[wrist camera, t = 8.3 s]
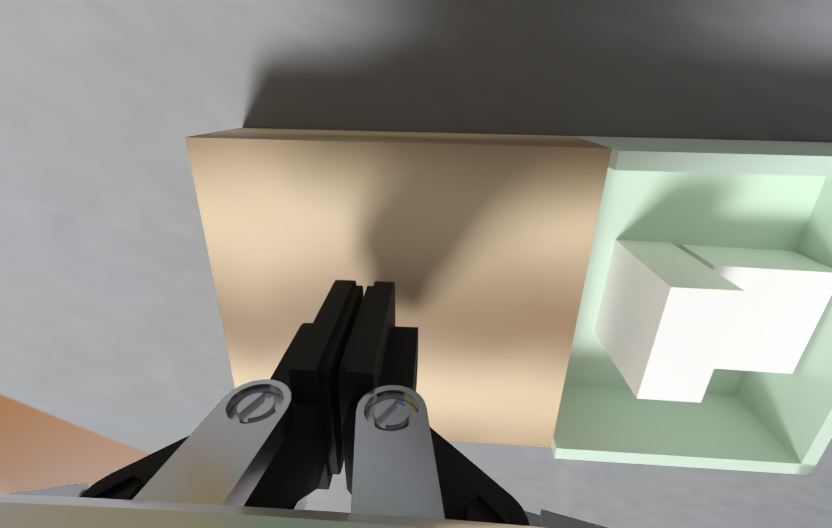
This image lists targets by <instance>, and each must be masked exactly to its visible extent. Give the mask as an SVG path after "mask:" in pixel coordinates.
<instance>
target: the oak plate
mask: <svg viewBox="0 0 832 528" xmlns="http://www.w3.org/2000/svg"><path fill="white" fill-rule="evenodd" d="M185 138H186V143H187V148H188V153H189V158H190V163H191V168H192V173H193V178H194V184H195V189H196V194H197V199H198V204H199V209H200V214H201V219H202V224H203V229H204V234H205V239H206V244H207V249H208V254H209V259H210V264H211V269H212V274H213V279H214V284H215V289H216V294H217V299H218V304H219V309H220V314H221V319H222V324H223V329H224V334H225V339H226V344H227V349H228V354H229V359H230V364H231V369H232V374H233V379H234V384H235V388H237V387H239V386H241V385H243V384H245V383H248V382H251V381H256V380H262V379H269V380H270V378H271V376H272V375H273V373H274V371H275V369H276V368H277V366H278V364H279V362H280V361H281V359H282V357H283V355H284V354H285V352H286V350H287V348H288V347H289V345H290V343H291V341H292V340H293V338H294V336H295V334H296V333H297V331H298V329H299V327H300V326H301V325H302V323H313V322H314V320H315V318H316V316H317V314H318V312H319V310H320V308H321V306H322V304H323V302H324V301H325V299H326V297H327V295H328V293H329V291H330V289H331V287H332V285H333V283H334V282H335V280H355V281H356V284H357V285H359V286H363V295H364V294H365V291H366V289H367V286H374V283H375V281H384V282H395V326H398V327H418V369H417V386H416V392H417V393H418V394H419V395H420V396H421V397H422V398H423V399H424V402H425V404H426V407H427V413H428V419H429V425H430V427H431V428H432V429H433V430H434V431H436V432H437V433H438V434H439V435H440V436H441V437H443V438H444V439H445V440H446V441H461V442H476V443H492V444H508V445H523V446H539V447H551V445H552V441H553V436H554V431H555V426H556V421H557V416H558V411H559V406H560V401H561V396H562V391H563V386H564V381H565V376H566V372H567V367H568V362H569V357H570V352H571V347H572V342H573V337H574V332H575V327H576V322H577V317H578V312H579V308H580V303H581V298H582V293H583V288H584V283H585V278H586V273H587V268H588V263H589V258H590V253H591V248H592V243H593V239H594V234H595V229H596V224H597V219H598V214H599V209H600V204H601V199H602V194H603V189H604V184H605V179H606V174H607V170H608V165H609V160H610V155H611V150H612V148H609V147H606V146H603V145H600V144H597V143H594V142H591V141H588V140H584V139H581V138H578V137H575V136H556V135H515V134H474V133H433V132H392V131H351V130H310V129H269V128H238V129H232V130H226V131H220V132H214V133H208V134H202V135H196V136H190V137H185Z"/></svg>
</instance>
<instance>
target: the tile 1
mask: <svg viewBox="0 0 832 528" xmlns="http://www.w3.org/2000/svg"><path fill="white" fill-rule="evenodd" d="M743 293H744V290H743V289H741V288H739V287H738V286H736V285H735V284H733V283H732V282H730V281H729V280H727V279H726V278H724V277H723V276H721V275H720V274H718V273H717V272H715V271H714V270H712V269H710V268H709V267H707V266H706V265H704V264H703V263H701V262H700V261H698V260H697V259H695V258H694V257H692V256H691V255H689V254H688V253H686V252H685V251H683V250H682V249H680V248H678V247H677V246H675V245H674V244H672V243H671V242H656V241H633V240H615V243H614V247H613V252H612V256H611V260H610V264H609V269H608V273H607V277H606V282H605V286H604V290H603V294H602V299H601V303H600V307H599V312H598V316H597V320H596V324H595V329H594V332H595V333H596V335H597V337H598V338H599V340H600V341H601V343H602V345H603V346H604V348H605V349H606V351H607V352H608V354H609V356H610V357H611V359H612V360H613V362H614V363H615V365H616V367H617V368H618V370H619V371H620V373H621V375H622V376H623V378H624V379H625V381H626V382H627V384H628V386H629V387H630V389H631V390H632V392H633V394H634V395H635V397H636V398H637V399H650V400H666V401H682V402H698V403H701V401H702V399H703V396H704V394H705V391H706V388H707V386H708V383H709V381H710V378H711V376H712V373H713V370H714V368H715V365H716V363H717V360H718V358H719V355H720V352H721V350H722V347H723V345H724V342H725V340H726V337H727V334H728V332H729V329H730V327H731V324H732V322H733V319H734V316H735V314H736V311H737V309H738V306H739V304H740V301H741V298H742V296H743Z"/></svg>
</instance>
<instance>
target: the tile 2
mask: <svg viewBox="0 0 832 528" xmlns="http://www.w3.org/2000/svg"><path fill="white" fill-rule="evenodd" d="M680 249H682V250H683V251H685V252H686V253H688V254H689V255H691V256H692V257H694V258H695V259H697V260H698V261H700V262H701V263H703V264H704V265H706V266H707V267H709V268H710V269H712V270H714V271H715V272H717V273H718V274H720V275H721V276H723V277H724V278H726V279H727V280H729V281H730V282H732V283H733V284H735V285H736V286H738V287H739V288H741V289H743V290H744V293H743V296H742V298H741V301H740V304H739V306H738V309H737V311H736V314H735V316H734V319H733V322H732V324H731V327H730V329H729V332H728V334H727V337H726V340H725V342H724V345H723V347H722V350H721V352H720V355H719V358H718V360H717V363H716V365H715V368H714V369H727V370H742V371H756V372H771V373H785V374H792V373H793V371H794V369H795V367H796V365H797V363H798V361H799V359H800V357H801V355H802V353H803V351H804V349H805V347H806V345H807V343H808V341H809V339H810V337H811V335H812V333H813V331H814V329H815V327H816V325H817V323H818V321H819V319H820V318H821V316H822V314H823V312H824V310H825V308H826V306H827V304H828V302H829V300H830V298H831V296H832V268H830V267H828V266H826V265H824V264H821V263H819V262H817V261H815V260H812V259H810V258H808V257H806V256H804V255H801V254H799V253H797V252H795V251H789V250H771V249H753V248H735V247H717V246H699V245H682V244H681V247H680Z"/></svg>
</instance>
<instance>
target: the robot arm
mask: <svg viewBox="0 0 832 528" xmlns="http://www.w3.org/2000/svg"><path fill="white" fill-rule="evenodd" d="M417 369H418V327H398V326H395V282H384V281H375V283H374V286H367V289H366V291H365V294H364V295H363V286H359V285H357V284H356V281H355V280H335V282H334V283H333V285H332V287H331V289H330V291H329V293H328V295H327V297H326V299H325V301H324V302H323V304H322V306H321V308H320V310H319V312H318V314H317V316H316V318H315V320H314V322H313V323H302V325H301V326H300V327H299V329H298V331H297V333H296V334H295V336H294V338H293V340H292V341H291V343H290V345H289V347H288V348H287V350H286V352H285V354H284V355H283V357H282V359H281V361H280V362H279V364H278V366H277V368H276V369H275V371H274V373H273V375H272V376H271V378H270V380H269V379H262V380H256V381H251V382H248V383H245V384H243V385H241V386H239V387H237V388H235V389H234V390H232V391H231V392H230V393H229V394H227V395H226V396H225V397H224V398H223V399H222V400H221V401H220V403H219V404H218V405H217V406H216V407H215V408H214V409H213V410H212V411H211V413H210V414H209V415H208V416H207V417H206V418H205V419H204V420H203V421H202V423H201V424H200V425H199V426H198V427H197V428H196V429H195V430H194V431H193V433H192V434H191V435H190V436H188V437H185V438H183V439H181V440H179V441H177V442H175V443H173V444H171V445H169V446H167V447H165V448H163V449H161V450H159V451H157V452H155V453H153V454H151V455H148V456H146V457H144V458H142V459H140V460H138V461H137V462H134V463H132V464H130V465H128V466H126V467H124V468H122V469H120V470H118V471H116V472H113V473H112V474H110V475H108V476H106V477H105V478H103V479H101V480H99V481H98V482H96V483H95V484H94V485H92V486H91V487H90V488H89V487H88V485H87V483H81V484H74V485H67V486H60V487H54V488H47V489H40V490H34V491H26V492H19V493H12V494H0V528H607V527H603V526H600V525H596V524H593V523H589V522H585V521H582V520H578V519H575V518H571V517H567V516H564V515H560V514H557V513H553V512H550V511H546V510H542V509H541V512H540V515H537V514H534V513H530V512H527V511H524V510H523V508H522V507H521V505H520V504H519V503H518V502H517V501H516V500H515V499H514V498H513V497H512V496H511V495H510V494H509V493H508V492H506V491H505V490H504V489H503V488H502V487H500V486H499V485H498V484H497V483H496V482H495V481H493V480H492V479H491V478H490V477H489V476H487V475H486V474H485V473H484V472H483V471H482V470H480V469H479V468H478V467H477V466H476V465H475V464H473V463H472V462H471V461H470V460H469V459H467V458H466V457H465V456H464V455H463V454H462V453H460V452H459V451H458V450H457V449H456V448H454V447H453V446H452V445H451V444H450V443H449V442H447V441H446V440H445V439H444V438H443V437H441V436H440V435H439V434H438V433H437V432H436V431H434V430H433V429H432V428H431V427H430V425H429V419H428V413H427V407H426V404H425V402H424V399H423V398H422V397H421V396H420V395H419V394H418V393H417V392H416V386H417ZM344 461H345V472H346V482H347V490H348V491H349V492H350V493H351V495H352V500H351V513H343V512H328V511H312V510H304V509H305V506H306V496H307V495H308V494H310V493H311V492H313V491H314V490H316V489H329V486H330V483H331V479H332V475H333V474H340V472H341V470H342V466H343V462H344Z"/></svg>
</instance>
